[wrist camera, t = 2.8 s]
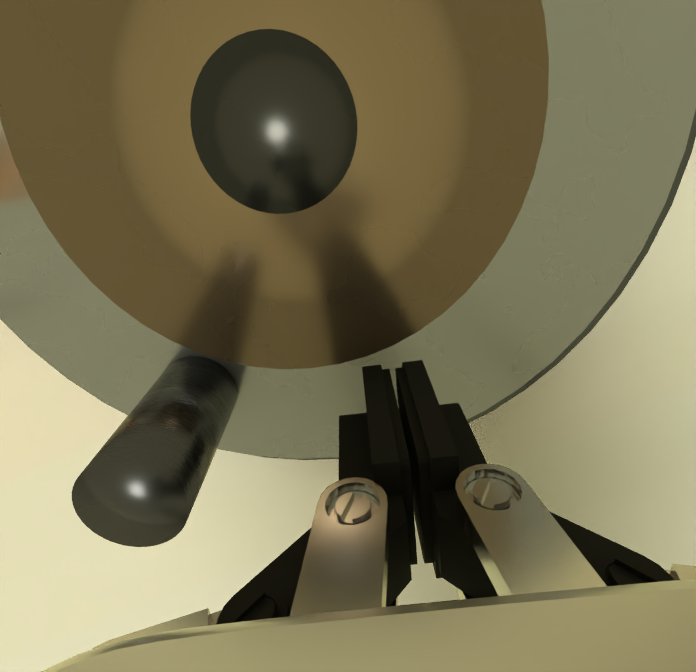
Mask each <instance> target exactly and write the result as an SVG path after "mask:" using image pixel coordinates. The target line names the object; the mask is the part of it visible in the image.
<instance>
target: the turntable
mask: <svg viewBox="0 0 696 672" xmlns="http://www.w3.org/2000/svg"><path fill="white" fill-rule="evenodd" d="M695 110H696V0H0V319H1V320H2V321H3V322H4V323H5V324H6V325H7V326H8V327H9V328H10V329H11V330H12V331H13V332H14V333H15V334H16V335H17V336H18V337H19V338H20V339H21V340H22V341H23V342H24V343H25V344H26V345H27V346H28V347H29V348H30V349H31V350H33V351H34V352H35V353H36V354H38V355H39V356H40V357H41V358H43V359H44V360H45V361H46V362H48V363H49V364H50V365H51V366H52V367H54V368H55V369H56V370H57V371H59V372H60V373H61V374H62V375H64V376H65V377H66V378H67V379H69V380H70V381H72V382H73V383H75V384H76V385H78V386H80V387H81V388H83V389H84V390H86V391H87V392H89V393H90V394H92V395H93V396H95V397H96V398H98V399H99V400H101V401H102V402H104V403H106V404H108V405H109V406H111V407H113V408H115V409H117V410H119V411H121V412H123V413H125V414H127V415H128V416H127V418H126V419H125V420H124V421H123V422H122V424H121V425H120V426H119V427H118V429H117V430H116V431H115V432H114V434H113V435H112V436H111V437H110V439H109V440H108V441H107V442H106V443H105V445H104V446H103V447H102V448H101V450H100V451H99V452H98V453H97V455H96V456H95V457H94V458H93V460H92V461H91V462H90V463H89V464H88V466H87V467H86V468H85V469H84V471H83V472H82V473H81V474H80V476H79V477H78V478H77V480H76V482H75V483H74V486H73V490H72V502H73V506H74V509H75V511H76V513H77V515H78V516H79V518H80V519H81V520H82V522H83V523H84V524H85V525H86V526H87V527H88V528H89V529H91V530H92V531H93V532H95V533H96V534H98V535H99V536H101V537H103V538H105V539H107V540H109V541H112V542H115V543H118V544H122V545H126V546H134V547H147V546H154V545H158V544H161V543H164V542H167V541H169V540H170V539H172V538H174V537H175V536H176V535H177V534H178V533H179V532H180V531H181V530H182V529H183V527H184V525H185V524H186V521H187V519H188V517H189V514H190V512H191V509H192V507H193V505H194V502H195V500H196V497H197V495H198V493H199V490H200V488H201V486H202V483H203V481H204V478H205V476H206V474H207V471H208V469H209V466H210V464H211V462H212V459H213V457H214V454H215V452H216V450H217V449H221V450H227V451H232V452H238V453H244V454H249V455H255V456H263V457H278V458H292V459H309V458H337V457H339V415H349V414H358V413H367V411H366V402H365V392H364V382H363V372H362V367H363V366H372V365H381V366H382V369H390V373H391V378H392V382H393V387H394V391H395V396H396V400H397V405H398V398H397V386H396V373H395V368H400V367H402V362H408V361H417V360H422V361H423V363H424V366H425V368H426V371H427V373H428V376H429V379H430V381H431V384H432V386H433V389H434V392H435V394H436V397H437V399H438V402H439V405H441V404H451V403H459V405H460V406H461V408H462V411H463V413H464V415H465V417H466V419H469V418H471V417H473V416H475V415H477V414H479V413H481V412H483V411H485V410H487V409H488V408H490V407H491V406H493V405H494V404H496V403H498V402H499V401H501V400H502V399H504V398H505V397H507V396H508V395H510V394H512V393H513V392H515V391H516V390H518V389H519V388H521V387H522V386H523V385H524V384H526V383H527V382H528V381H529V380H531V379H532V378H533V377H534V376H535V375H537V374H538V373H539V372H540V371H542V370H543V369H544V368H545V367H547V366H548V365H549V364H550V363H552V362H553V361H554V360H555V359H556V358H557V357H558V356H559V355H560V354H561V353H562V352H563V351H564V350H565V349H566V348H567V347H568V346H569V345H570V344H571V343H572V342H573V341H574V340H575V339H576V338H577V337H578V336H579V335H580V334H581V333H582V332H583V331H584V330H585V329H586V327H587V326H588V325H589V324H590V323H591V321H592V320H593V319H594V318H595V316H596V315H597V314H598V313H599V311H600V310H601V309H602V308H603V306H604V305H605V304H606V303H607V301H608V300H609V299H610V298H611V296H612V295H613V294H614V293H615V291H616V290H617V288H618V287H619V285H620V283H621V282H622V280H623V279H624V277H625V276H626V274H627V273H628V271H629V269H630V268H631V266H632V265H633V263H634V262H635V260H636V259H637V257H638V255H639V254H640V252H641V251H642V249H643V247H644V245H645V243H646V241H647V239H648V237H649V235H650V233H651V231H652V229H653V227H654V225H655V223H656V221H657V219H658V217H659V215H660V213H661V211H662V209H663V207H664V205H665V203H666V200H667V198H668V195H669V192H670V190H671V187H672V184H673V182H674V179H675V176H676V174H677V171H678V168H679V166H680V163H681V160H682V157H683V155H684V152H685V149H686V145H687V142H688V138H689V134H690V130H691V126H692V122H693V118H694V114H695Z"/></svg>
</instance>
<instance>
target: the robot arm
mask: <svg viewBox="0 0 696 672" xmlns="http://www.w3.org/2000/svg"><path fill="white" fill-rule="evenodd" d="M362 372H363V382H364V392H365V402H366V411H367V413H358V414H349V415H339V481H337V482H335V483H333V484H332V485H330V486H329V487H327V489H326V490H325V491H324V492H323V493H322V494H321V496H320V499H319V501H318V504H317V508H316V512H315V516H314V520H313V524H312V528H310V529H309V530H308V531H307V532H306V533H305V534H304V535H302V536H301V537H300V538H299V539H298V540H297V541H296V542H294V543H293V544H292V545H291V546H290V547H289V548H288V549H286V550H285V551H284V552H283V553H282V554H281V555H280V556H278V557H277V558H276V559H275V560H274V561H273V562H272V563H270V564H269V565H268V566H267V567H266V568H265V569H264V570H262V571H261V572H260V573H259V574H258V575H257V576H255V577H254V578H253V579H252V580H251V581H250V582H249V583H247V584H246V585H245V586H244V587H243V588H242V589H241V590H239V591H238V592H237V593H236V594H235V595H234V596H233V597H232V598H231V599H230V600H229V601H228V602H227V604H226V605H225V606H224V608H223V609H222V610H221V611H218V612H215V613H212V614H210V611H209V609H205V610H202V611H198V612H195V613H192V614H189V615H186V616H183V617H180V618H177V619H174V620H171V621H167V622H164V623H161V624H158V625H155V626H152V627H149V628H146V629H143V630H140V631H136V632H133V633H130V634H127V635H124V636H121V637H118V638H115V639H112V640H109V641H107V642H104V643H102V644H100V645H98V646H96V647H94V648H93V649H92V650H90V651H87V652H84V653H81V654H78V655H76V656H74V657H72V658H69V659H67V660H65V661H63V662H61V663H59V664H57V665H54V666H52V667H50V668H48V669H46V670H44V671H42V672H696V566H686V565H677V564H672V567H671V570H664V569H663V568H662V567H661V566H659V565H658V564H657V563H655V562H653V561H651V560H650V559H648V558H646V557H645V556H643V555H641V554H638V553H636V552H634V551H632V550H630V549H628V548H626V547H624V546H621V545H619V544H617V543H615V542H613V541H611V540H609V539H607V538H604V537H602V536H600V535H598V534H596V533H594V532H592V531H590V530H587V529H585V528H583V527H581V526H579V525H577V524H575V523H573V522H570V521H568V520H566V519H564V518H562V517H560V516H558V515H555V514H553V513H551V512H549V511H548V509H547V508H546V507H545V506H544V504H543V503H542V502H541V500H540V499H539V498H538V497H537V495H536V494H535V493H534V491H533V490H532V489H531V488H530V486H529V485H528V484H527V482H526V481H525V480H524V479H523V478H522V477H521V476H520V475H519V474H517V473H516V472H514V471H512V470H510V469H509V468H506V467H503V466H500V465H494V464H487V463H486V461H485V458H484V456H483V454H482V452H481V450H480V448H479V445H478V443H477V441H476V439H475V437H474V434H473V432H472V430H471V428H470V426H469V424H468V421H467V419H466V417H465V415H464V413H463V411H462V408H461V406H460V405H459V403H451V404H441V405H439V402H438V399H437V397H436V394H435V392H434V389H433V386H432V384H431V381H430V379H429V376H428V373H427V371H426V368H425V366H424V363H423V361H422V360H417V361H408V362H402V367H400V368H395V373H396V386H397V398H398V405H397V400H396V396H395V391H394V387H393V382H392V378H391V373H390V369H382V366H381V365H372V366H363V367H362ZM414 515H415V520H416V525H417V530H418V535H419V540H420V545H421V550H422V555H423V559H424V563H433V565H434V570H435V574H436V578H444V579H445V580H447V581H448V582H450V583H451V584H453V585H454V586H456V587H457V594H458V598H459V600H452V601H442V602H431V603H421V604H410V605H400V606H398V598H397V597H398V595H399V594H400V593H401V592H402V591H403V589H404V588H405V587H406V586H407V584H408V583H409V582H410V581H411V580H412V579H411V566H410V565H413V564H417V552H416V538H415V524H414Z"/></svg>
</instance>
